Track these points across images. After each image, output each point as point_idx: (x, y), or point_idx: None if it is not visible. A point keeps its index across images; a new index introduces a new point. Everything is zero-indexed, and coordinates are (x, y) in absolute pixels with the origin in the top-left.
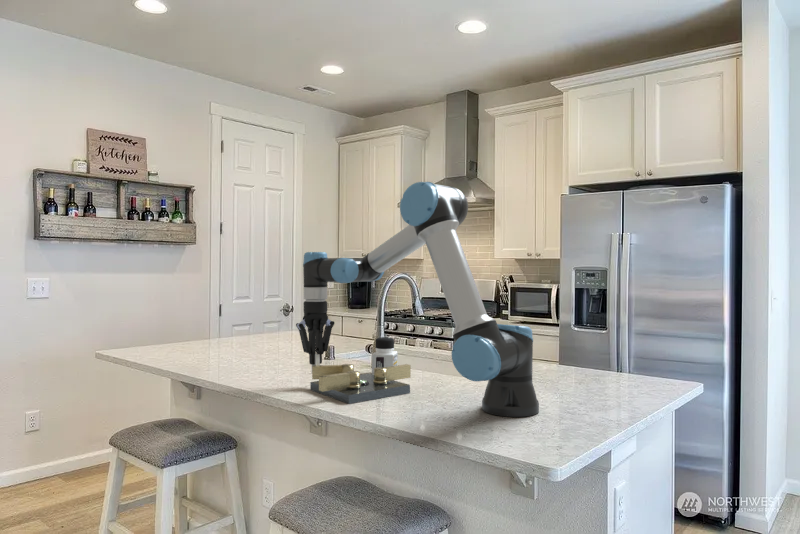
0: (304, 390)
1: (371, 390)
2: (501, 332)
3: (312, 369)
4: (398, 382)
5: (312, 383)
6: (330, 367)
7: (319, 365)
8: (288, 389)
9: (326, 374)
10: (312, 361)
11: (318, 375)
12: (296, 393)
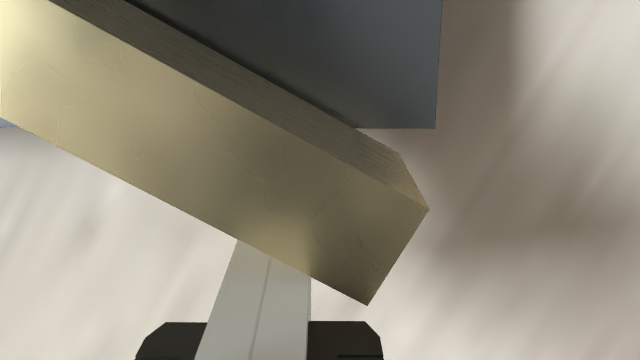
0: (477, 137)
1: None
2: None
3: (417, 191)
4: None
5: (436, 72)
6: (121, 32)
7: (258, 231)
8: (577, 278)
9: (214, 63)
10: (360, 355)
11: (325, 121)
12: (626, 60)
